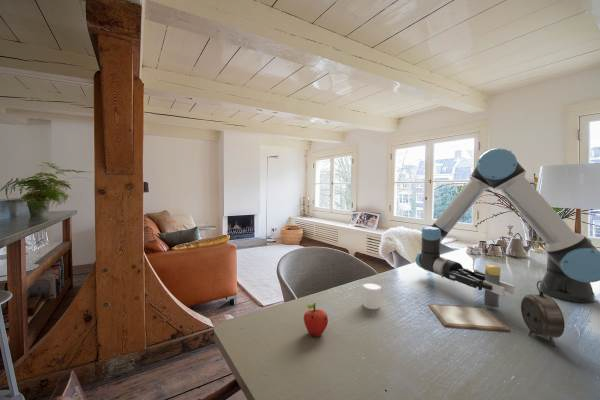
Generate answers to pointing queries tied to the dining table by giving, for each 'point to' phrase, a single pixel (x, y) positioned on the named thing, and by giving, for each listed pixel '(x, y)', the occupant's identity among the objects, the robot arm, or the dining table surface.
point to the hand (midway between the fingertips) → (508, 290)
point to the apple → (315, 321)
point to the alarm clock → (542, 315)
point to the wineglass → (474, 253)
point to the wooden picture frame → (467, 317)
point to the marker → (493, 277)
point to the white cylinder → (371, 295)
